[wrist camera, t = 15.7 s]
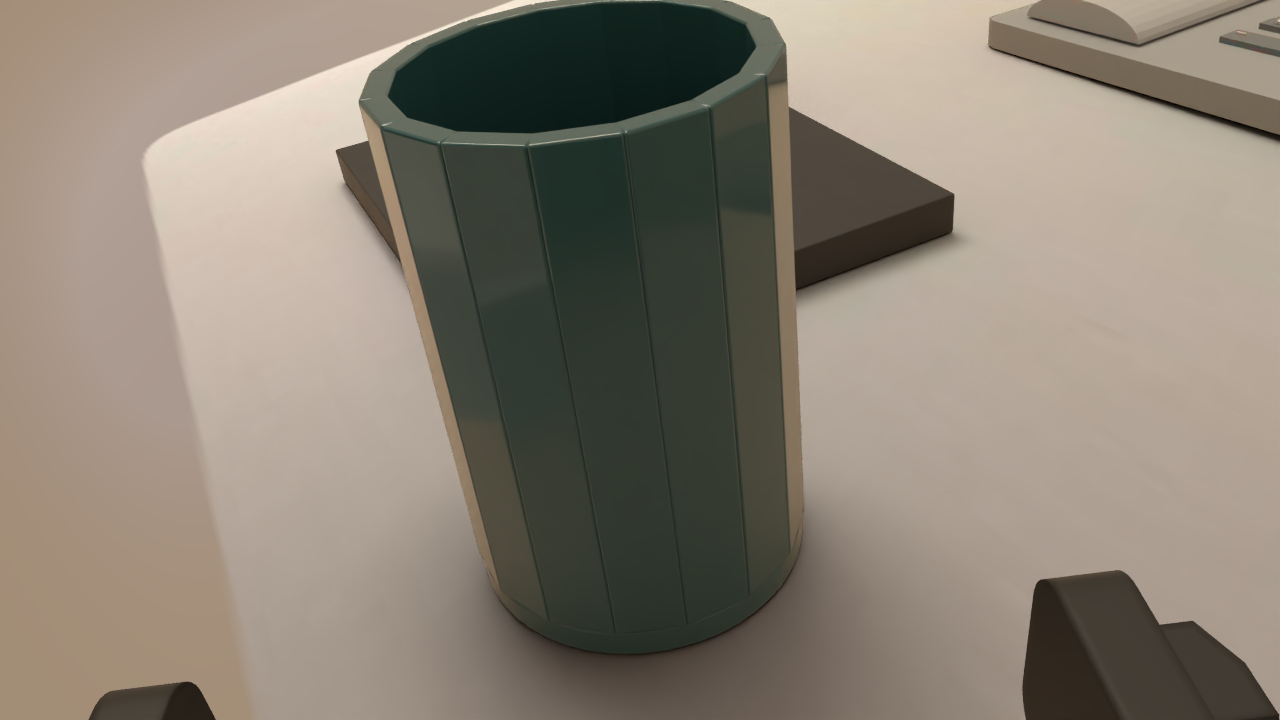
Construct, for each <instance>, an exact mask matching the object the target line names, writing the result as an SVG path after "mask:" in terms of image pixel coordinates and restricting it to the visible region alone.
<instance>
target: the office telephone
mask: <svg viewBox="0 0 1280 720" xmlns="http://www.w3.org/2000/svg"><path fill="white" fill-rule="evenodd" d="M988 45H990V46H991V48H995V49H998V50H1001V51H1004V52H1008V53H1011V54H1014V55H1017V56H1020V57H1024V58H1027V59H1030V60H1033V61H1037V62H1040V63H1043V64H1046V65H1050V66H1053V67H1056V68H1060V69H1063V70H1066V71H1070V72H1073V73H1076V74H1080V75H1083V76H1086V77H1089V78H1093V79H1096V80H1099V81H1103V82H1106V83H1109V84H1113V85H1116V86H1119V87H1123V88H1126V89H1129V90H1133V91H1136V92H1139V93H1143V94H1146V95H1149V96H1153V97H1156V98H1159V99H1162V100H1166V101H1169V102H1172V103H1176V104H1179V105H1182V106H1186V107H1189V108H1192V109H1196V110H1199V111H1202V112H1206V113H1209V114H1212V115H1216V116H1219V117H1222V118H1226V119H1229V120H1232V121H1235V122H1239V123H1242V124H1245V125H1249V126H1252V127H1255V128H1259V129H1262V130H1265V131H1269V132H1272V133H1275V134H1279V135H1280V0H1041V1H1039V2H1037V3H1034V4H1031V5H1028V6H1025V7H1021V8H1018V9H1015V10H1012V11H1008V12H1005V13H1002V14H998V15H995V16H992V17H990V22H989V40H988Z"/></svg>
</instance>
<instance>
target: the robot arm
mask: <svg viewBox="0 0 1280 720" xmlns="http://www.w3.org/2000/svg"><path fill="white" fill-rule="evenodd" d="M1023 703H1024V711H1025V716H1026V720H1279V714H1278V713H1277V711H1276V710H1275V708H1274V707H1273V705H1272V704H1271V702H1270V701H1269V699H1268V697H1267V696H1266V694H1265V693H1264V691H1263V690H1262V688H1261V687H1260V685H1259V684H1258V682H1257V681H1256V679H1255V678H1254V676H1253V674H1252V673H1251V671H1250V670H1249V668H1248V667H1247V665H1246V664H1245V663H1244V662H1243V661H1242V660H1241V659H1240V658H1238V657H1237V656H1236V655H1235V654H1233V653H1232V652H1231V651H1230V650H1228V649H1227V648H1226V647H1225V646H1223V645H1222V644H1221V643H1220V642H1218V641H1217V640H1216V639H1215V638H1213V637H1212V636H1211V635H1210V634H1209V633H1207V632H1206V631H1205V630H1204V629H1202V628H1201V627H1200V626H1199V625H1197V624H1196V623H1195V622H1194V621H1188V622H1179V623H1171V624H1163V625H1159V623H1158V622H1157V620H1156V618H1155V617H1154V615H1153V613H1152V611H1151V610H1150V608H1149V606H1148V605H1147V603H1146V601H1145V600H1144V598H1143V596H1142V595H1141V593H1140V591H1139V589H1138V588H1137V586H1136V585H1135V583H1134V582H1133V580H1132V579H1131V578H1130V577H1129V576H1128V575H1127V574H1126V573H1124V572H1122V571H1120V570H1116V571H1108V572H1099V573H1091V574H1083V575H1075V576H1067V577H1059V578H1051V579H1042V580H1040V581H1038V583H1037V584H1036V586H1035V589H1034V595H1033V602H1032V611H1031V619H1030V627H1029V635H1028V643H1027V652H1026V660H1025V668H1024V676H1023ZM89 720H216V719H215V717H214V715H213V713H212V711H211V710H210V708H209V706H208V704H207V702H206V700H205V698H204V696H203V694H202V692H201V691H200V689H199V688H198V687H197V686H196V685H195V684H193V683H191V682H181V683H173V684H165V685H157V686H148V687H140V688H131V689H123V690H116V691H111V692H108V693H106V694H105V695H104V696H103V697H102V698H100V700H99V701H98V702H97V704H96V705H95V707H94V709H93V711H92V714H91V716H90V718H89Z"/></svg>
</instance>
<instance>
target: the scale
mask: <svg viewBox="0 0 1280 720" xmlns="http://www.w3.org/2000/svg"><path fill="white" fill-rule="evenodd" d="M789 132H790V158H791V184H792V210H793V236H794V261H795V287H796V289H798V288H801V287H803V286H806V285H809V284H811V283H814V282H817V281H819V280H822V279H825V278H828V277H830V276H833V275H836V274H838V273H841V272H844V271H846V270H849V269H852V268H855V267H857V266H860V265H863V264H865V263H868V262H871V261H873V260H876V259H879V258H881V257H884V256H887V255H890V254H892V253H895V252H898V251H900V250H903V249H906V248H908V247H911V246H914V245H917V244H919V243H922V242H925V241H927V240H930V239H933V238H935V237H938V236H941V235H944V234H946V233H949V232H952V230H953V213H954V194H953V193H951V192H949V191H948V190H946V189H944V188H942V187H940V186H938V185H936V184H934V183H932V182H930V181H929V180H927V179H925V178H923V177H921V176H919V175H917V174H915V173H913V172H911V171H910V170H908V169H906V168H904V167H902V166H900V165H898V164H896V163H894V162H892V161H891V160H889V159H887V158H885V157H883V156H881V155H879V154H877V153H875V152H874V151H872V150H870V149H868V148H866V147H864V146H862V145H860V144H858V143H856V142H855V141H853V140H851V139H849V138H847V137H845V136H843V135H841V134H839V133H837V132H836V131H834V130H832V129H830V128H828V127H826V126H824V125H822V124H820V123H818V122H817V121H815V120H813V119H811V118H809V117H807V116H805V115H803V114H801V113H799V112H798V111H796V110H794V109H792V108H790V107H789ZM336 153H337V157H338V160H339V164H340V167H341V171H342V174H343V178H344V180H345V182H346V183H347V185H348V186H349V188H350V189H351V190H352V192H353V193H354V195H355V196H356V198H357V199H358V200H359V202H360V203H361V205H362V206H363V208H364V209H365V211H366V212H367V213H368V215H369V216H370V218H371V219H372V221H373V222H374V224H375V225H376V226H377V228H378V229H379V231H380V232H381V234H382V235H383V237H384V238H385V239H386V241H387V242H388V244H389V245H390V247H391V248H392V250H393V251H394V252H395V254H396V255H397V257H398V258H399V260H400V261H401V259H400V255H399V252H398V248H397V244H396V240H395V237H394V233H393V229H392V226H391V222H390V218H389V214H388V211H387V207H386V203H385V200H384V196H383V192H382V188H381V185H380V181H379V177H378V174H377V170H376V166H375V162H374V159H373V155H372V151H371V147H370V144H369V141H366V142H363V143H359V144H355V145H352V146H348V147H345V148H341V149H338V150H336Z"/></svg>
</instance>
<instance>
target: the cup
mask: <svg viewBox="0 0 1280 720" xmlns="http://www.w3.org/2000/svg"><path fill="white" fill-rule="evenodd" d="M359 107H360V110H361V114H362V118H363V121H364V125H365V129H366V133H367V136H368V140H369V144H370V147H371V151H372V155H373V159H374V162H375V166H376V170H377V174H378V177H379V181H380V185H381V188H382V192H383V196H384V200H385V203H386V207H387V211H388V214H389V218H390V222H391V226H392V229H393V233H394V237H395V240H396V244H397V248H398V252H399V255H400V259H401V263H402V266H403V270H404V274H405V278H406V281H407V285H408V289H409V292H410V296H411V300H412V304H413V307H414V311H415V315H416V318H417V322H418V326H419V330H420V333H421V337H422V341H423V344H424V348H425V352H426V356H427V359H428V363H429V367H430V370H431V374H432V378H433V382H434V385H435V389H436V393H437V396H438V400H439V404H440V408H441V411H442V415H443V419H444V423H445V426H446V430H447V434H448V437H449V441H450V445H451V449H452V452H453V456H454V460H455V463H456V467H457V471H458V475H459V478H460V482H461V486H462V489H463V493H464V497H465V501H466V504H467V508H468V512H469V515H470V519H471V523H472V527H473V530H474V534H475V538H476V541H477V545H478V549H479V552H480V554H481V556H482V558H483V560H484V562H485V564H486V568H487V572H488V575H489V579H490V581H491V583H492V586H493V588H494V590H495V592H496V594H497V595H498V597H499V598H500V600H501V601H502V603H503V604H504V606H505V607H506V608H507V609H508V610H509V611H510V612H511V613H512V614H513V615H514V616H515V617H516V618H517V619H518V620H520V621H521V622H522V623H524V624H525V625H526V626H528V627H529V628H530V629H532V630H534V631H535V632H537V633H539V634H541V635H543V636H545V637H546V638H548V639H551V640H554V641H556V642H559V643H561V644H564V645H567V646H571V647H575V648H578V649H582V650H586V651H593V652H601V653H608V654H641V653H653V652H660V651H665V650H671V649H676V648H680V647H684V646H687V645H691V644H694V643H697V642H701V641H703V640H706V639H708V638H710V637H713V636H715V635H718V634H720V633H722V632H724V631H726V630H728V629H730V628H731V627H733V626H735V625H737V624H739V623H740V622H742V621H743V620H745V619H746V618H747V617H749V616H750V615H752V614H753V613H755V612H756V611H757V610H758V609H759V608H761V607H762V606H763V605H764V604H765V603H766V602H767V601H768V600H769V599H770V598H771V597H772V596H773V595H774V594H775V593H776V591H777V590H778V589H779V588H780V587H781V585H782V584H783V583H784V581H785V579H786V578H787V576H788V574H789V573H790V571H791V569H792V568H793V565H794V563H795V560H796V558H797V555H798V553H799V548H800V543H801V538H802V515H803V511H804V494H803V468H802V442H801V416H800V391H799V365H798V339H797V313H796V287H795V261H794V236H793V210H792V184H791V158H790V132H789V106H788V81H787V55H786V44H785V42H784V40H783V39H782V37H781V35H780V33H779V31H778V30H777V28H776V26H775V24H774V22H773V21H772V19H770V18H769V17H767V16H764V15H762V14H760V13H757V12H755V11H753V10H750V9H748V8H746V7H743V6H741V5H738V4H736V3H734V2H729V1H725V0H558V1H550V2H543V3H535V4H534V5H531V4H530V5H526V6H522V7H518V8H515V9H511V10H507V11H503V12H499V13H495V14H491V15H487V16H483V17H479V18H475V19H471V20H468V21H467V22H462V23H460V24H457V25H455V26H452V27H450V28H447V29H445V30H443V31H440V32H438V33H435V34H433V35H430V36H428V37H426V38H423V39H421V40H418V41H416V42H413V43H411V44H410V45H407V46H406V47H404V48H403V49H402V50H400V51H399V52H398V53H396V54H395V55H393V56H392V57H391V58H389V59H388V60H386V61H385V62H384V63H382V64H381V65H380V66H378V67H377V68H375V69H374V70H373V71H372V72H371V73H370V74H369V76H368V79H367V81H366V84H365V86H364V89H363V91H362V94H361V96H360V99H359Z"/></svg>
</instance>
